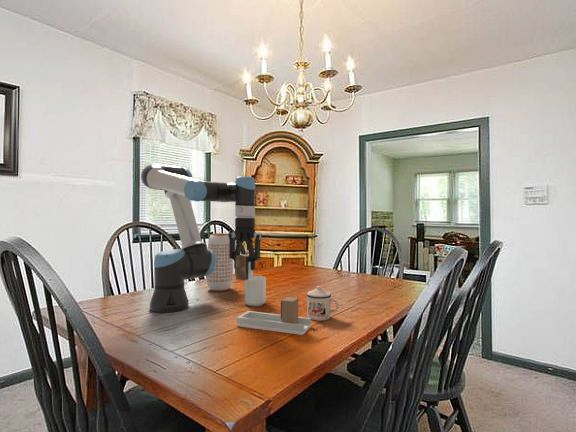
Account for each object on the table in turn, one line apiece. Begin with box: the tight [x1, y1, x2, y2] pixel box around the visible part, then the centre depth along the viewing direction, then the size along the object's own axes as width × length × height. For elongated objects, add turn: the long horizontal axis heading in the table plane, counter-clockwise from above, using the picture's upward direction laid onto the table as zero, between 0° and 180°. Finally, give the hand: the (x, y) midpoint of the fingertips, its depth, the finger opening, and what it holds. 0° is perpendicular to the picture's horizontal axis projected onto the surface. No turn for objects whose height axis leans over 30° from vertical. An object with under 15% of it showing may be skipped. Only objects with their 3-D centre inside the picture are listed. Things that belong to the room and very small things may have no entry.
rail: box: [236, 296, 312, 336], centre depth 123 cm, size 24×9×10 cm, turn 69°
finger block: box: [235, 253, 250, 281], centre depth 137 cm, size 5×5×9 cm
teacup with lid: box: [306, 285, 340, 322], centre depth 133 cm, size 12×9×12 cm
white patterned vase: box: [205, 232, 234, 292], centre depth 180 cm, size 13×13×28 cm
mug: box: [244, 275, 267, 307], centre depth 154 cm, size 12×9×11 cm
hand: (244, 277), depth 137 cm, fingers closed on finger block, 5 cm apart
